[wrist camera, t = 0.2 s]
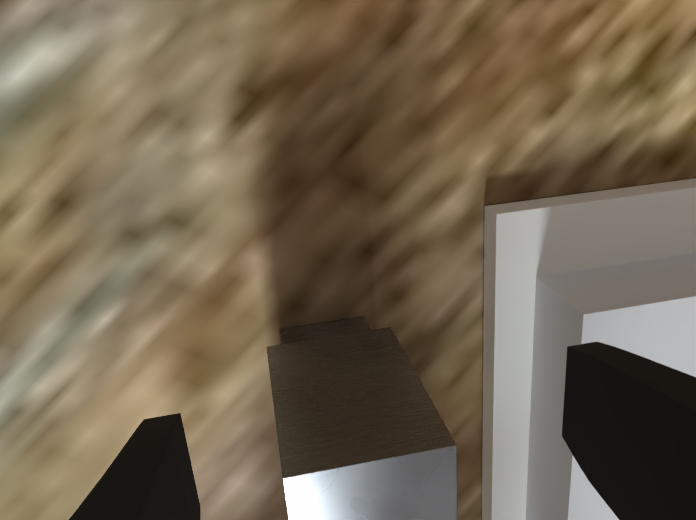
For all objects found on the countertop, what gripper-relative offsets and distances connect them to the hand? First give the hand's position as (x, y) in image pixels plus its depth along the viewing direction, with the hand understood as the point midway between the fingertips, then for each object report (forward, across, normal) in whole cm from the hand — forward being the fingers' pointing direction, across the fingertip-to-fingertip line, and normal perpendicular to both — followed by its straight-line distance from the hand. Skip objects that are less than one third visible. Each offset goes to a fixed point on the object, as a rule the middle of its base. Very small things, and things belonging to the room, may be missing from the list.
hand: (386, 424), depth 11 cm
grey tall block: (+10, 0, +4) cm, 11 cm away
